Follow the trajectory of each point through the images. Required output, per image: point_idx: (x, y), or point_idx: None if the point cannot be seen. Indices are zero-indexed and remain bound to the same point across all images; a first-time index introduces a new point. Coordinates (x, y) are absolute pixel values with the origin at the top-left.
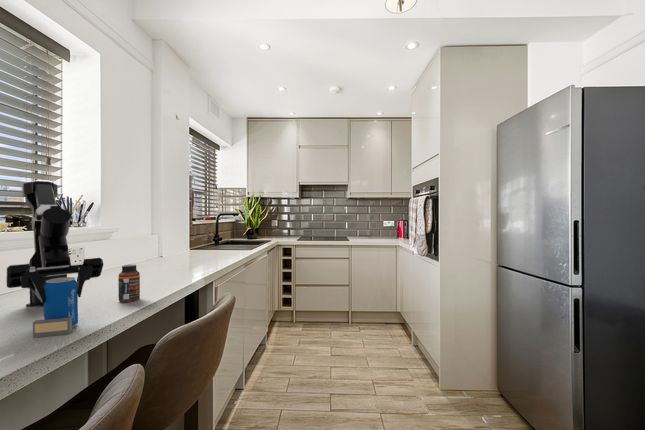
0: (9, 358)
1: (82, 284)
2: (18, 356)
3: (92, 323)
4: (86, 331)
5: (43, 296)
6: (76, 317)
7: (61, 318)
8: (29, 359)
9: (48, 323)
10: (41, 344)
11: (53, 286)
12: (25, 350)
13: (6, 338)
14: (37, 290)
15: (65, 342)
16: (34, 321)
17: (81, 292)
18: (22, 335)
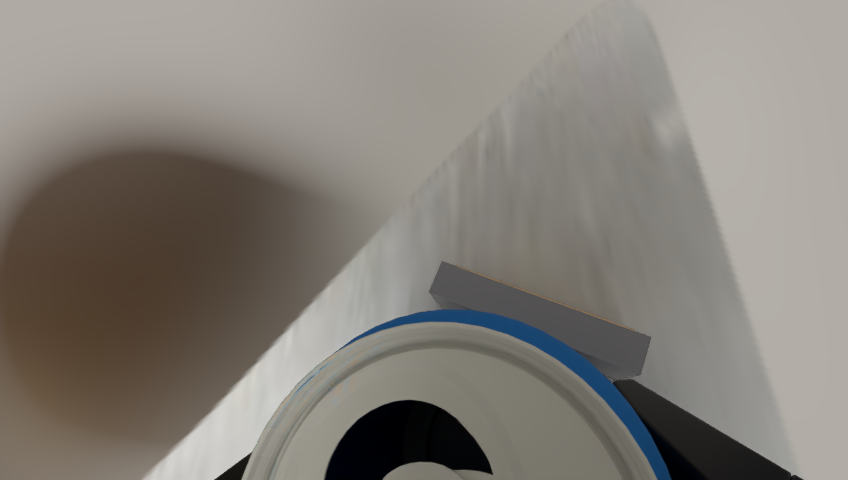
0: (662, 95)
1: (221, 475)
2: (632, 99)
3: None
4: (386, 274)
5: (635, 397)
6: (403, 407)
7: (483, 302)
8: (585, 49)
9: (553, 300)
10: (566, 199)
11: (535, 329)
12: (620, 156)
13: (788, 456)
14: (743, 454)
15: (474, 165)
16: (643, 348)
17: None
18: None
